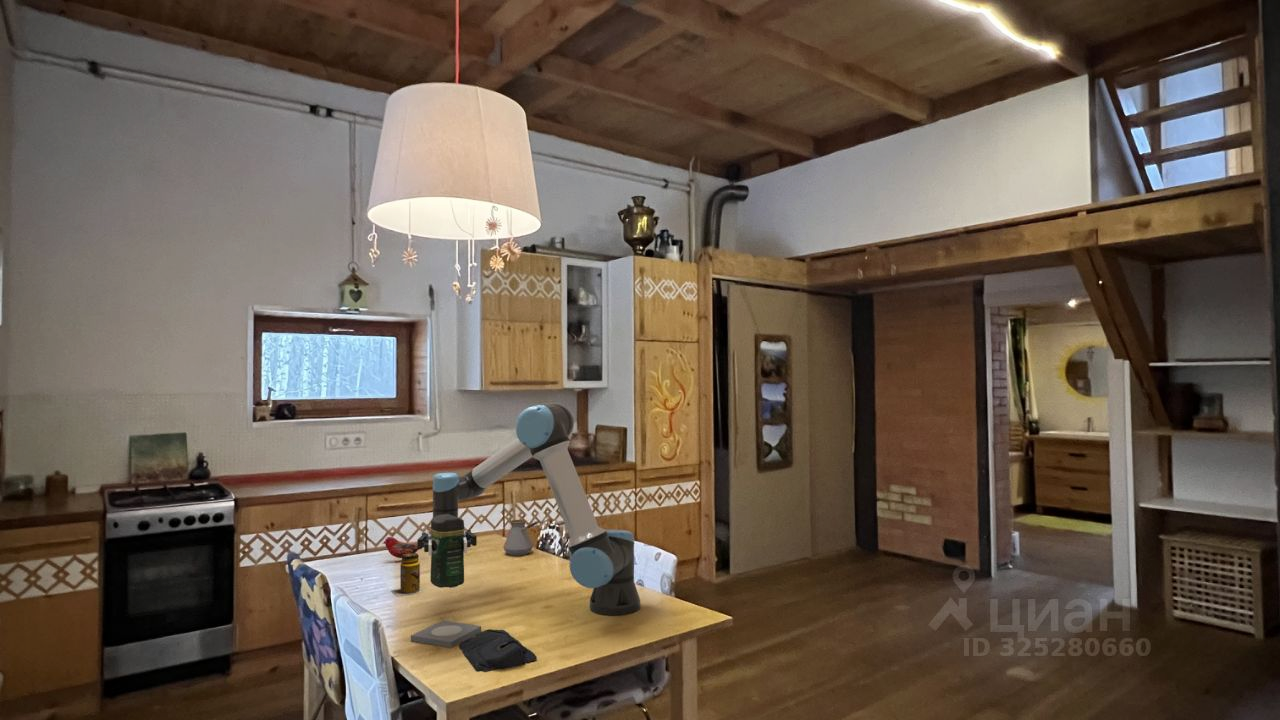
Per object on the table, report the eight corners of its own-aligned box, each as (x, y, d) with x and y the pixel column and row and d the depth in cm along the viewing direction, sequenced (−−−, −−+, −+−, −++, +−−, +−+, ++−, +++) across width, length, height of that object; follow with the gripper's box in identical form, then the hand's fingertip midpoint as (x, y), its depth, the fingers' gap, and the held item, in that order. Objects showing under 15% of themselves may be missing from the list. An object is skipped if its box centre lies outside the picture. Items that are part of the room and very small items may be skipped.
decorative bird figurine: (382, 563, 275) (382, 536, 275) (430, 558, 282) (430, 532, 283) (382, 565, 272) (382, 538, 273) (431, 559, 280) (431, 533, 280)
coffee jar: (468, 585, 196) (468, 516, 196) (439, 591, 191) (440, 519, 192) (454, 577, 204) (454, 510, 204) (426, 582, 199) (426, 514, 199)
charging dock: (481, 631, 200) (481, 626, 200) (451, 647, 188) (451, 641, 188) (442, 625, 205) (442, 620, 205) (410, 641, 193) (410, 635, 193)
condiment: (423, 592, 237) (423, 555, 238) (397, 596, 233) (397, 558, 233) (416, 587, 244) (416, 550, 244) (390, 591, 239) (390, 554, 239)
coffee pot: (498, 553, 289) (497, 515, 290) (523, 548, 297) (523, 511, 297) (526, 563, 273) (526, 523, 273) (552, 558, 280) (552, 519, 281)
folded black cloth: (511, 636, 197) (511, 618, 197) (540, 664, 178) (540, 644, 178) (454, 646, 190) (454, 628, 190) (477, 676, 171) (477, 656, 171)
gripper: (482, 542, 218) (488, 560, 196) (408, 546, 212) (405, 566, 190) (482, 516, 218) (488, 532, 196) (408, 520, 212) (405, 537, 190)
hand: (447, 548), depth 193 cm, fingers closed on coffee jar, 8 cm apart
